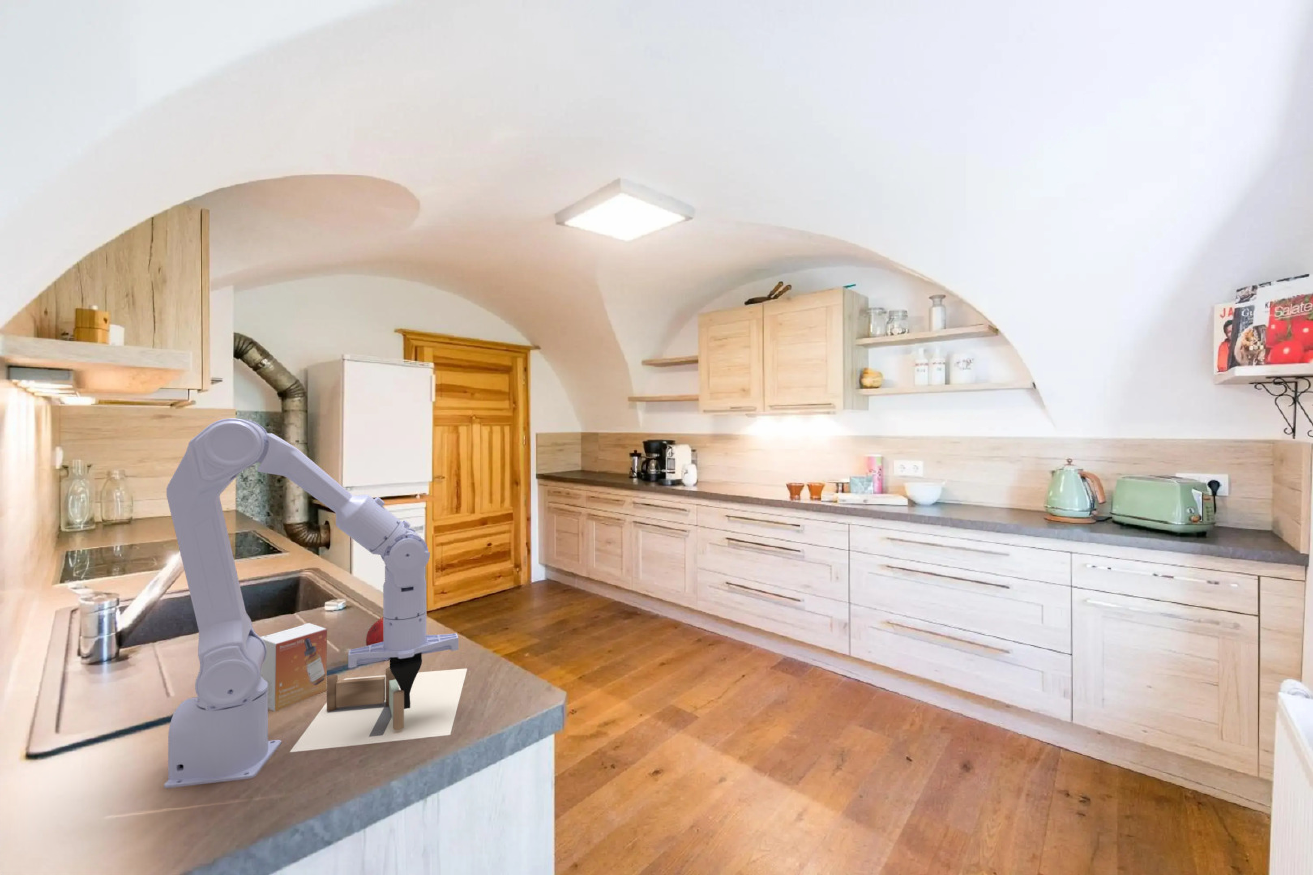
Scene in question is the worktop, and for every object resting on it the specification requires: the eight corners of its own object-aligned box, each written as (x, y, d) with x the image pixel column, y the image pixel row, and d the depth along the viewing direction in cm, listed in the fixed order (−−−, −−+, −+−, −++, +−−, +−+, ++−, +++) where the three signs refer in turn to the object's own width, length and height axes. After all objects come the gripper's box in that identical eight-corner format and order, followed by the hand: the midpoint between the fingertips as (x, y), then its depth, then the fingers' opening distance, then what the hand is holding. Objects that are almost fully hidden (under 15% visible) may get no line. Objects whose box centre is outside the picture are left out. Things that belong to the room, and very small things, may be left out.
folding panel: (387, 704, 84) (387, 672, 84) (397, 702, 85) (397, 670, 85) (393, 731, 77) (393, 695, 77) (404, 728, 78) (404, 693, 78)
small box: (274, 713, 83) (274, 644, 83) (255, 704, 86) (255, 636, 85) (328, 692, 90) (328, 627, 90) (309, 683, 93) (309, 621, 92)
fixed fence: (324, 712, 83) (325, 676, 82) (329, 707, 84) (329, 671, 84) (396, 706, 85) (397, 670, 85) (399, 700, 87) (399, 665, 86)
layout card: (289, 754, 72) (289, 751, 72) (344, 680, 94) (344, 678, 94) (450, 736, 77) (450, 734, 77) (467, 669, 98) (467, 667, 98)
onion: (375, 666, 100) (375, 622, 99) (360, 658, 103) (360, 615, 103) (406, 656, 104) (406, 614, 104) (390, 648, 108) (391, 607, 108)
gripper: (346, 630, 74) (347, 730, 74) (460, 614, 80) (461, 706, 80) (349, 614, 80) (350, 707, 80) (455, 600, 86) (455, 686, 86)
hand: (405, 705), depth 81 cm, fingers closed
